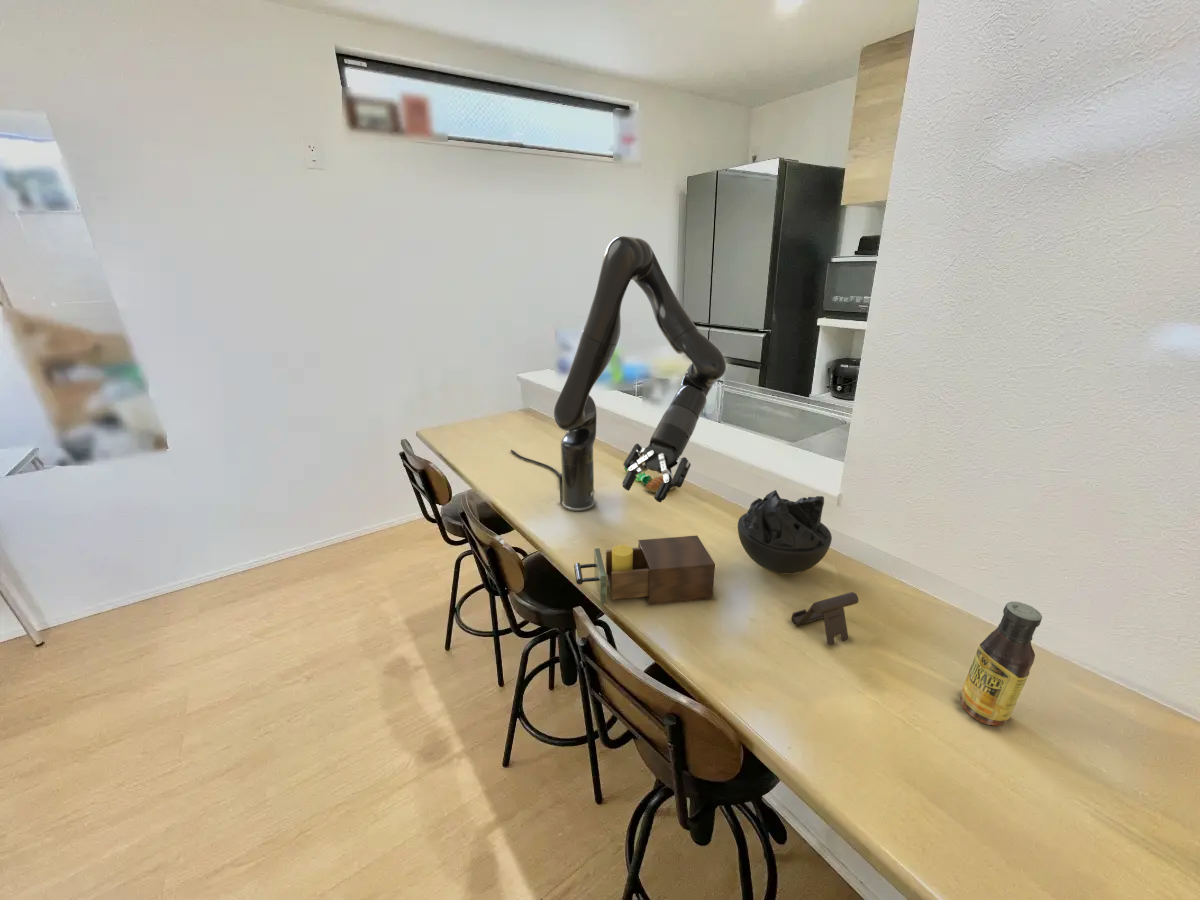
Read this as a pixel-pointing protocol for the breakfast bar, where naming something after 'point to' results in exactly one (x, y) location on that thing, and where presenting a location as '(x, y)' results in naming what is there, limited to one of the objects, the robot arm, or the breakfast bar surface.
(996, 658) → the sauce bottle
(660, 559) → the cabinet
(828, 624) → the tablet stand
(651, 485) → the pastry
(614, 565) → the canister
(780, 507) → the coal bowl
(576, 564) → the drawer
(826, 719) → the breakfast bar surface
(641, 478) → the candy
